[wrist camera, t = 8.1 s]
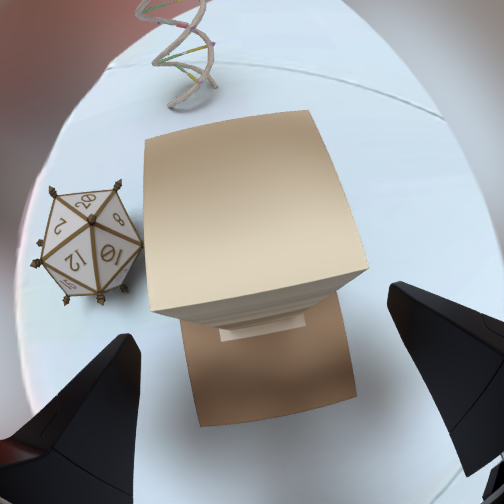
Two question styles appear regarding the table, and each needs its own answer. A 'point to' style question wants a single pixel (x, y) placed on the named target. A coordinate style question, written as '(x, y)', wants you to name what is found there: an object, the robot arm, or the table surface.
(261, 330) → the walnut slab
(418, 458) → the table surface
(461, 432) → the robot arm
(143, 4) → the dna model
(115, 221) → the game die
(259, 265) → the maple pillar
